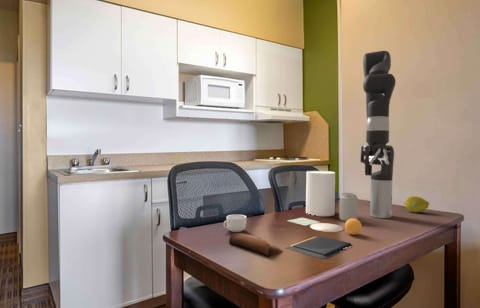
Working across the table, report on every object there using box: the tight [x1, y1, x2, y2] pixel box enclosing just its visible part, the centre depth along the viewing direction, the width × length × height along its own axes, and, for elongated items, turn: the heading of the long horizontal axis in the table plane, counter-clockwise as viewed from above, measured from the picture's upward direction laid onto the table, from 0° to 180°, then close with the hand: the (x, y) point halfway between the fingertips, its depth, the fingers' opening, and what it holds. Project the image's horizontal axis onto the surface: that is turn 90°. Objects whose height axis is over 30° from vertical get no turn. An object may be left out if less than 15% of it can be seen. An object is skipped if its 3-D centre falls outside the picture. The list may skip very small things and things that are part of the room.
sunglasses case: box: [228, 232, 284, 258], centre depth 105 cm, size 18×7×7 cm
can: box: [338, 192, 359, 223], centre depth 144 cm, size 8×8×12 cm
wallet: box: [285, 235, 353, 260], centre depth 107 cm, size 20×2×15 cm
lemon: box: [404, 195, 430, 214], centre depth 162 cm, size 11×8×8 cm
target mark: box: [309, 222, 345, 233], centre depth 131 cm, size 13×13×1 cm
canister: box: [305, 170, 336, 217], centre depth 158 cm, size 14×14×20 cm
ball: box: [344, 218, 363, 236], centre depth 122 cm, size 6×6×6 cm
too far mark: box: [287, 217, 321, 227], centre depth 141 cm, size 10×10×1 cm
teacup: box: [222, 214, 247, 233], centre depth 125 cm, size 10×8×5 cm
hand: (376, 175), depth 117 cm, fingers open, 8 cm apart
